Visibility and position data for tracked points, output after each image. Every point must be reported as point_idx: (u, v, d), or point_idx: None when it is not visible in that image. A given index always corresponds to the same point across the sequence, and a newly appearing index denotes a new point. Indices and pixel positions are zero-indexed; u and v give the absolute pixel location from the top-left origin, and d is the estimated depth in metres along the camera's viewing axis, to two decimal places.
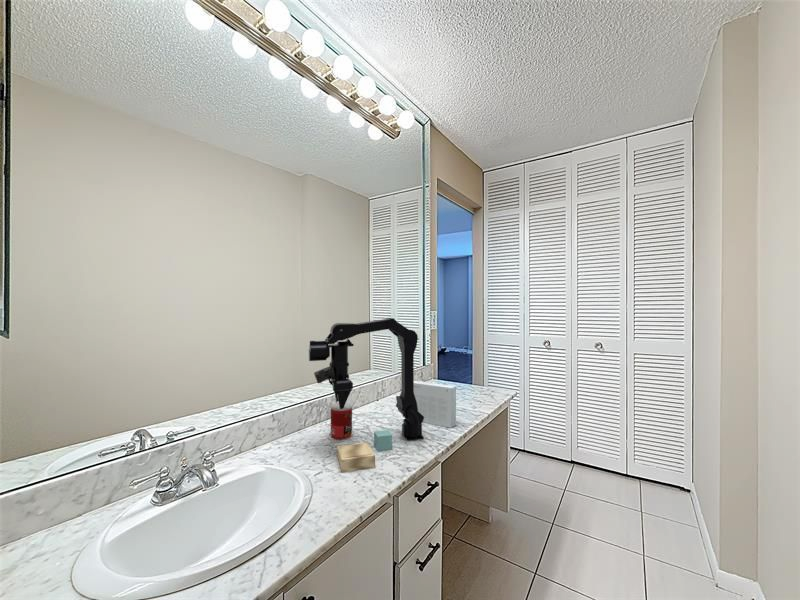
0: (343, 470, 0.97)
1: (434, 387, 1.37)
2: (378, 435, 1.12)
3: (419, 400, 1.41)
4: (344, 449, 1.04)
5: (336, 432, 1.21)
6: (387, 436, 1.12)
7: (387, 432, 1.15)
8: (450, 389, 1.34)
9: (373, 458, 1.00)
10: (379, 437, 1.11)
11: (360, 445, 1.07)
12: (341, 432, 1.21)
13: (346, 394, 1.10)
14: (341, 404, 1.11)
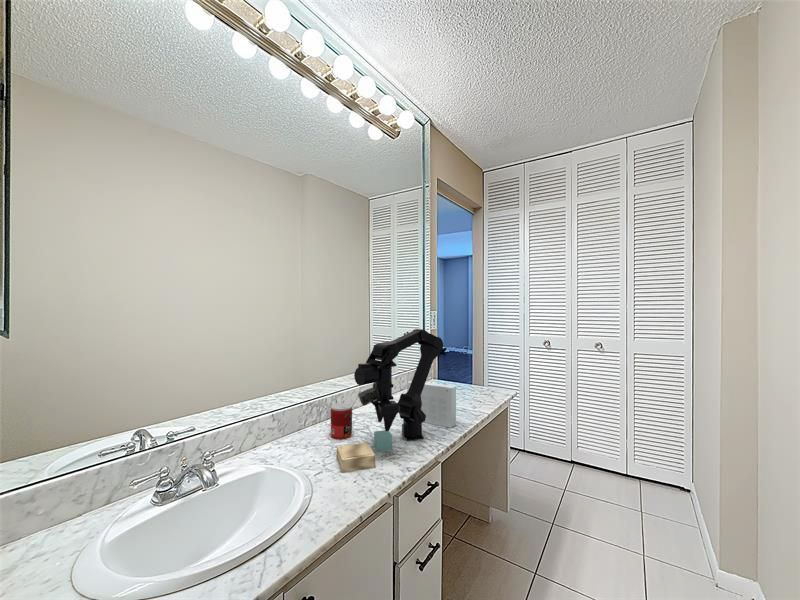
0: (343, 470, 0.97)
1: (434, 387, 1.37)
2: (378, 435, 1.12)
3: None
4: (344, 449, 1.04)
5: (336, 432, 1.21)
6: (387, 436, 1.12)
7: (387, 432, 1.15)
8: (450, 389, 1.34)
9: (373, 458, 1.00)
10: (379, 437, 1.11)
11: (360, 445, 1.07)
12: (341, 432, 1.21)
13: (392, 417, 1.09)
14: (386, 427, 1.10)
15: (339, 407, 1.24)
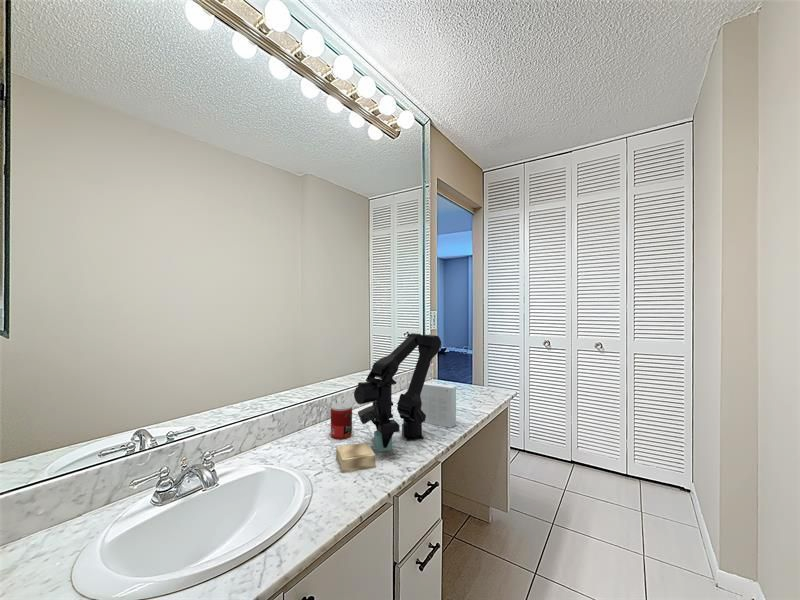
0: (344, 470, 0.97)
1: (434, 387, 1.37)
2: (378, 435, 1.12)
3: None
4: (344, 449, 1.04)
5: (336, 432, 1.21)
6: None
7: None
8: (450, 389, 1.34)
9: (373, 458, 1.00)
10: (379, 437, 1.11)
11: (360, 445, 1.07)
12: (341, 432, 1.21)
13: (390, 433, 1.11)
14: (384, 444, 1.11)
15: (339, 407, 1.24)
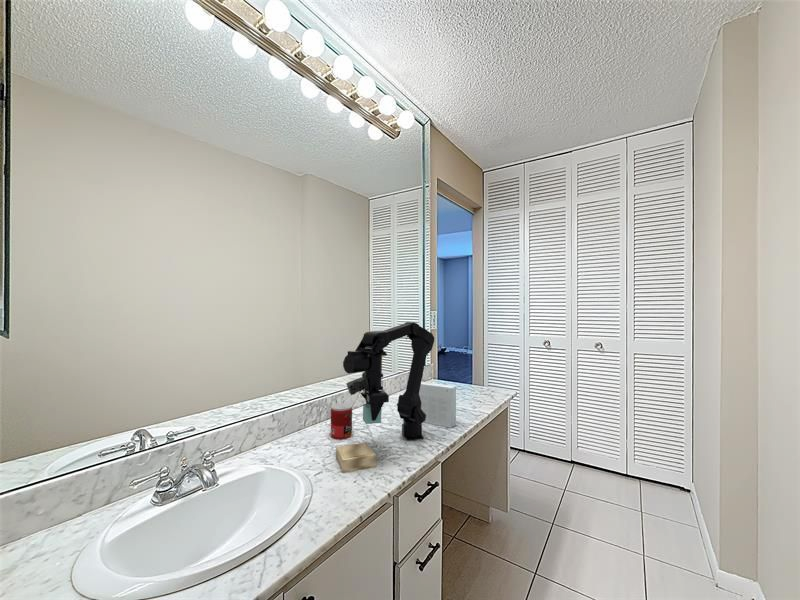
0: (344, 470, 0.97)
1: (434, 387, 1.37)
2: (367, 407, 1.08)
3: None
4: (344, 449, 1.03)
5: (336, 432, 1.21)
6: None
7: None
8: (450, 389, 1.34)
9: (374, 457, 1.00)
10: (368, 409, 1.07)
11: (359, 445, 1.07)
12: (341, 432, 1.21)
13: (379, 405, 1.07)
14: (373, 416, 1.07)
15: (339, 407, 1.24)
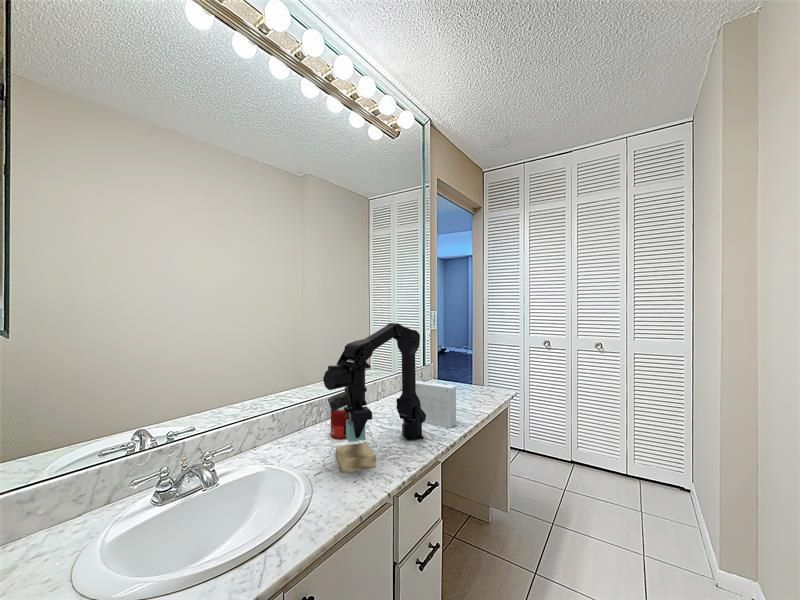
0: (344, 470, 0.97)
1: (434, 387, 1.37)
2: (350, 423, 1.01)
3: None
4: (344, 449, 1.03)
5: (336, 432, 1.21)
6: None
7: None
8: (450, 389, 1.34)
9: (374, 457, 1.00)
10: (350, 426, 1.01)
11: (359, 445, 1.07)
12: (341, 432, 1.21)
13: (363, 422, 1.00)
14: (357, 433, 1.00)
15: None
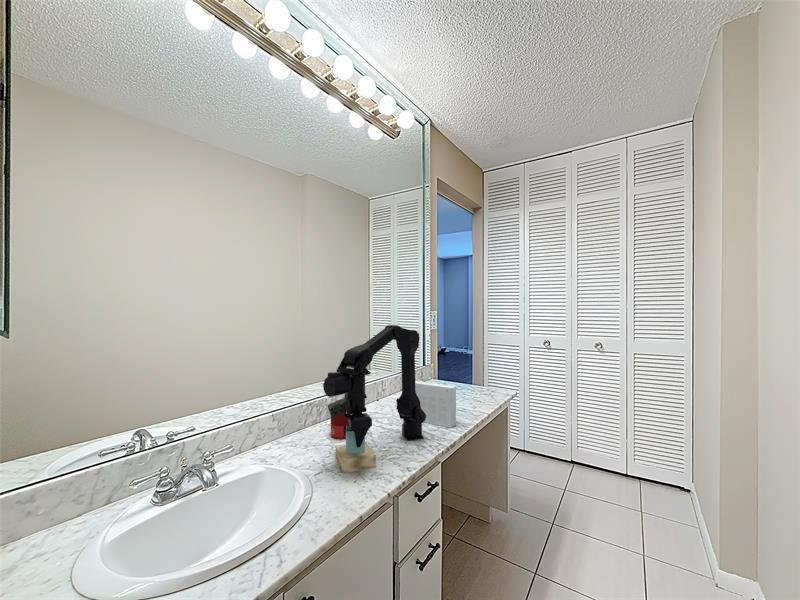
0: (345, 471, 0.97)
1: (434, 387, 1.37)
2: (349, 436, 1.01)
3: None
4: (344, 450, 1.03)
5: (336, 432, 1.21)
6: None
7: None
8: (450, 389, 1.34)
9: (374, 457, 1.00)
10: (350, 438, 1.00)
11: None
12: (341, 432, 1.21)
13: (364, 431, 0.98)
14: (358, 443, 0.98)
15: None
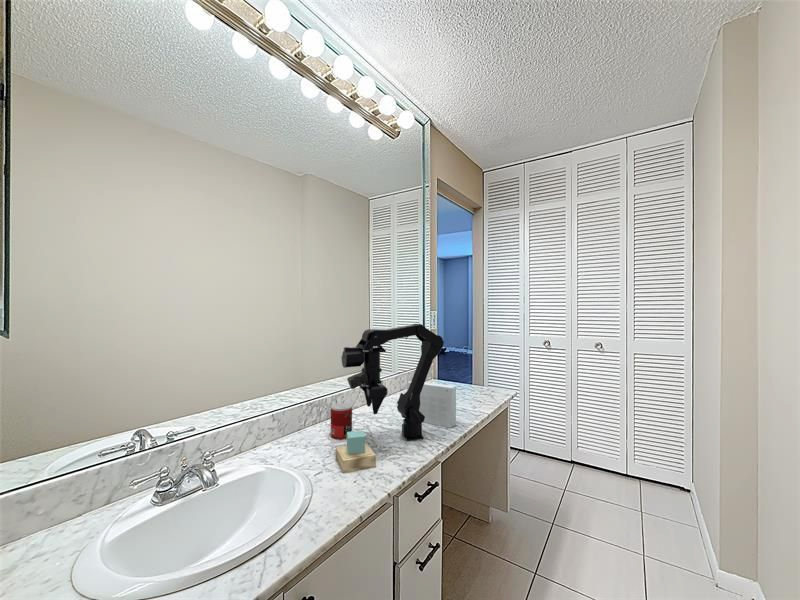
0: (345, 471, 0.97)
1: (434, 387, 1.37)
2: (349, 436, 1.01)
3: None
4: (344, 450, 1.03)
5: (336, 432, 1.21)
6: (359, 437, 1.01)
7: (361, 433, 1.04)
8: (450, 389, 1.34)
9: (374, 458, 1.00)
10: (350, 438, 1.00)
11: None
12: (341, 432, 1.21)
13: (380, 400, 1.12)
14: (375, 410, 1.12)
15: (339, 407, 1.24)
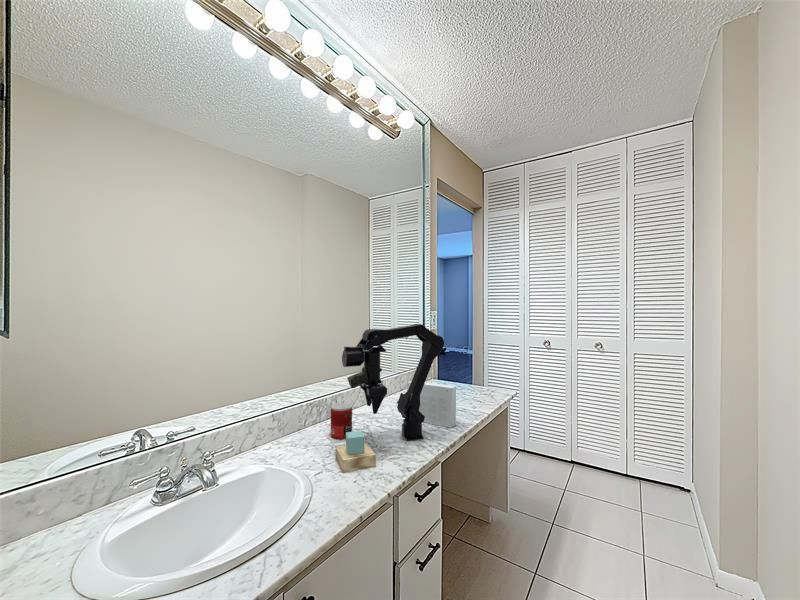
0: (345, 470, 0.97)
1: (434, 387, 1.37)
2: (349, 436, 1.01)
3: None
4: (344, 449, 1.03)
5: (336, 432, 1.21)
6: (358, 437, 1.01)
7: (360, 433, 1.04)
8: (450, 389, 1.34)
9: (374, 457, 1.01)
10: (349, 439, 1.00)
11: None
12: (341, 432, 1.21)
13: (380, 399, 1.12)
14: (374, 409, 1.12)
15: (339, 407, 1.24)
